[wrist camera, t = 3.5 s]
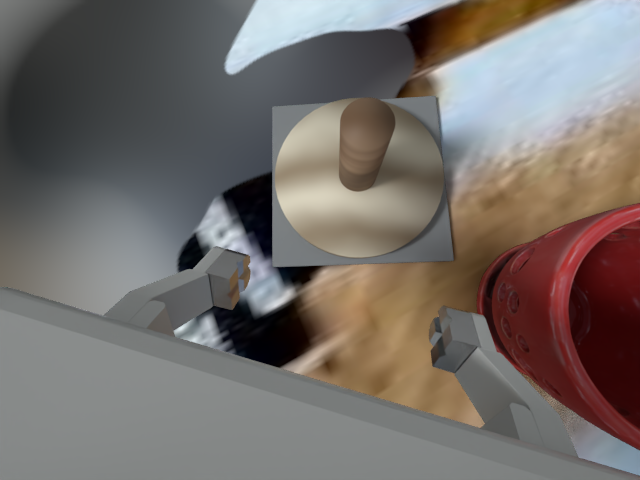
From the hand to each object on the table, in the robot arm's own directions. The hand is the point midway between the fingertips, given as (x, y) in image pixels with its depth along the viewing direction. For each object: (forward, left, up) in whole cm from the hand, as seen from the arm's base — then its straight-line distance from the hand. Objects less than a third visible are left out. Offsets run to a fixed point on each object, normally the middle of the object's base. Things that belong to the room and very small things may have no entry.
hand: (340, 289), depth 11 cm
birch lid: (+11, -2, -14) cm, 18 cm away
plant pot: (-2, -17, -15) cm, 23 cm away
